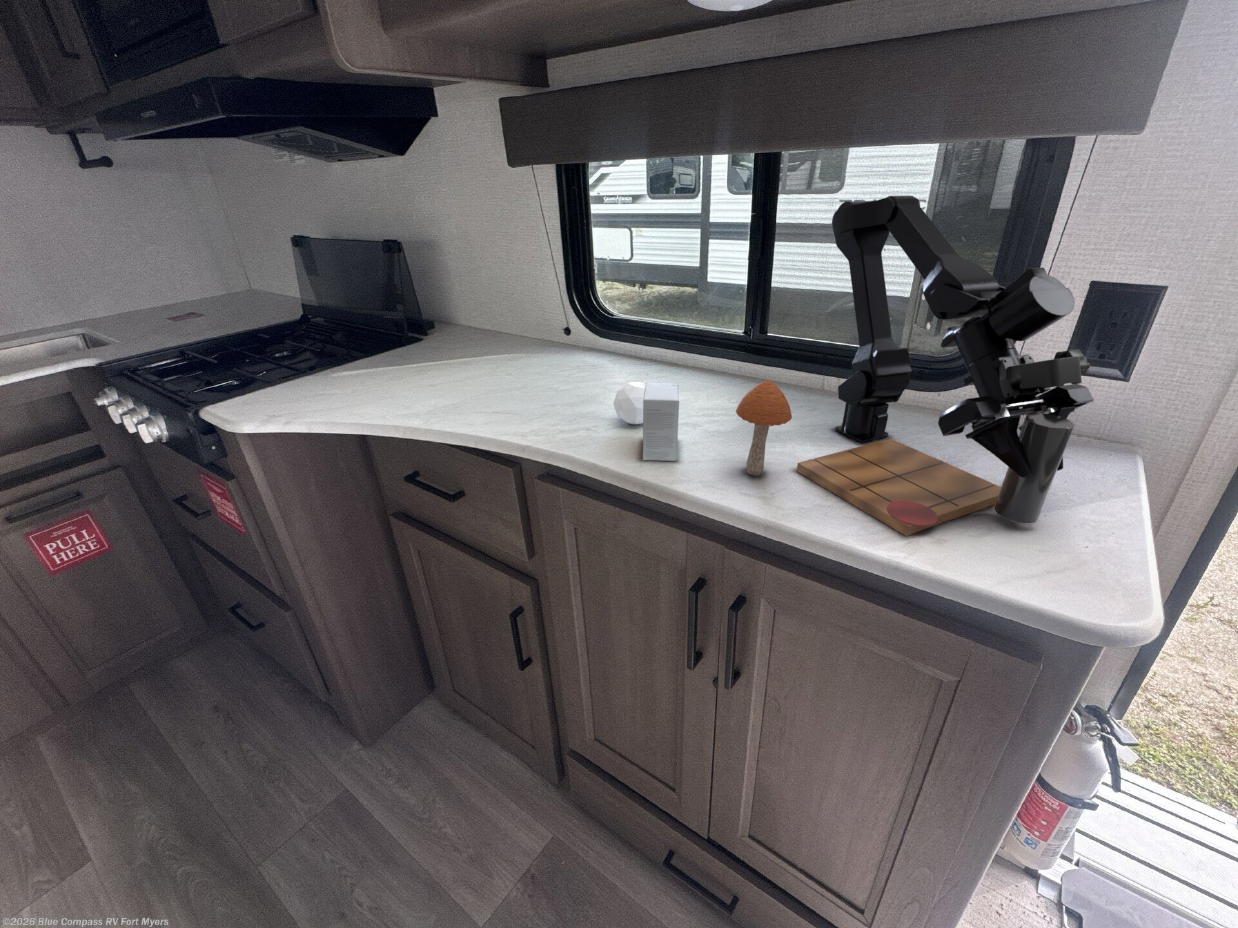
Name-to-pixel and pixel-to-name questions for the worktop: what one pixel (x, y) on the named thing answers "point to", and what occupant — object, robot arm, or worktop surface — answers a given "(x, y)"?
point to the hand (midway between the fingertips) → (1042, 473)
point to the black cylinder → (1034, 467)
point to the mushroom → (762, 419)
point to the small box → (660, 421)
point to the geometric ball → (630, 403)
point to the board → (900, 485)
